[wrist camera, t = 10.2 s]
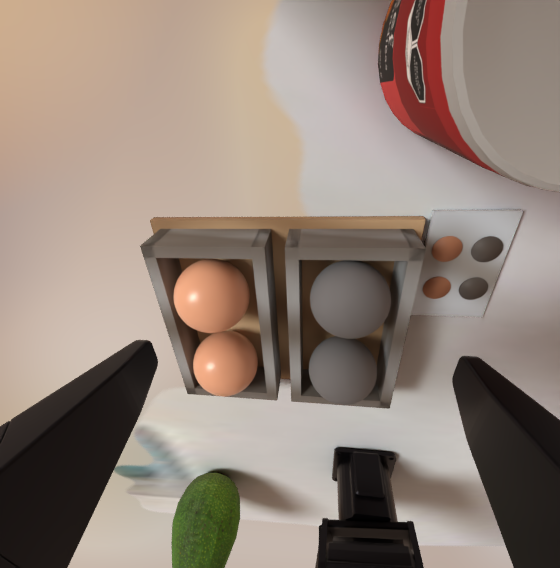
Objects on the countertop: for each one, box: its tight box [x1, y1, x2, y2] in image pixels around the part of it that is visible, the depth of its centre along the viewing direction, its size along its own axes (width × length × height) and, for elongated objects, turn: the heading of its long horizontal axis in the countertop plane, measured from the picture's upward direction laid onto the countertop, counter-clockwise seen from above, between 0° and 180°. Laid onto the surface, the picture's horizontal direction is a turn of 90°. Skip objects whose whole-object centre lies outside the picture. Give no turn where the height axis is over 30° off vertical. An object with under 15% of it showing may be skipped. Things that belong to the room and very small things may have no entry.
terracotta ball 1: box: [173, 259, 250, 333], centre depth 21 cm, size 5×5×5 cm
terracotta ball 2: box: [193, 331, 258, 396], centre depth 24 cm, size 5×5×5 cm
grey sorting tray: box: [140, 209, 523, 408], centre depth 22 cm, size 16×24×3 cm, turn 93°
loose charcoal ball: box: [310, 260, 391, 339], centre depth 19 cm, size 5×5×5 cm
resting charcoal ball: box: [309, 336, 377, 405], centre depth 23 cm, size 5×5×5 cm
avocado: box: [172, 473, 240, 568], centre depth 36 cm, size 8×8×12 cm
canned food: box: [378, 0, 560, 192], centre depth 10 cm, size 8×8×11 cm
